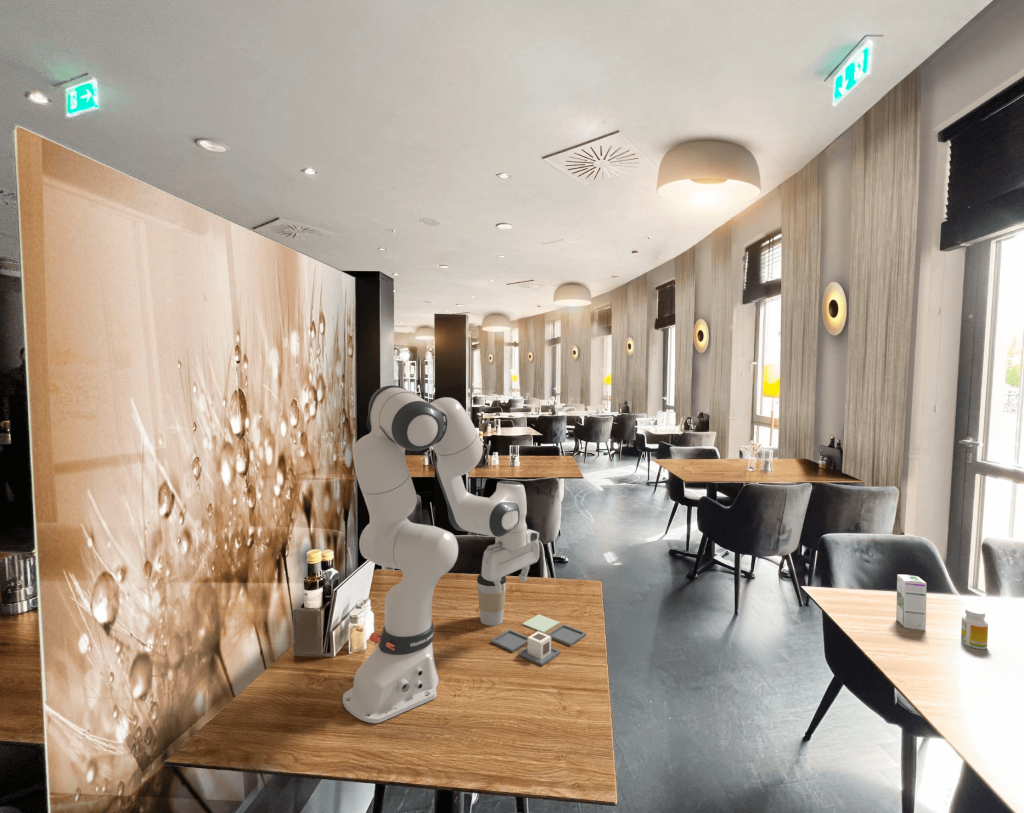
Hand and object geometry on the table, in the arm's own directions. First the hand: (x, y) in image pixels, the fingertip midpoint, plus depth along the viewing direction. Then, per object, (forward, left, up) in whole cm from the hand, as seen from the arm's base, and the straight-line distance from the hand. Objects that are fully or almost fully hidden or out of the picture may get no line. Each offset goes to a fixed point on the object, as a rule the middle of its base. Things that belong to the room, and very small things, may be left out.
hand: (511, 586), depth 140 cm
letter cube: (-1, -10, -15) cm, 19 cm away
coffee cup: (+5, +13, -16) cm, 21 cm away
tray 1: (-1, 0, -16) cm, 16 cm away
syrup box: (+86, -85, -16) cm, 123 cm away
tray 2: (-1, -10, -16) cm, 19 cm away
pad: (+13, 0, -16) cm, 21 cm away
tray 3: (+12, -10, -16) cm, 23 cm away
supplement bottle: (+83, -99, -16) cm, 131 cm away
